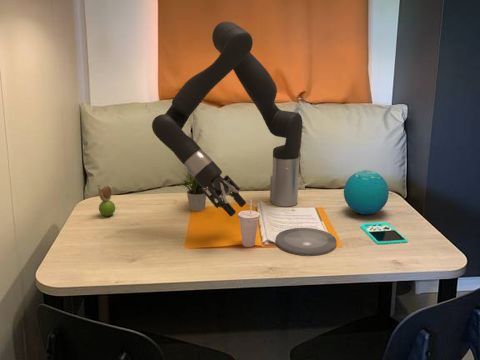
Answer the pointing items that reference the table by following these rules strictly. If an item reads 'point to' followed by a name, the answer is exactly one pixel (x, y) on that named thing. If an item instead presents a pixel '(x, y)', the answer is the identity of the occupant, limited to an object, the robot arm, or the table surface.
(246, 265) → the table surface
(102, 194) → the snail figurine
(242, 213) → the smoothie
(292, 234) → the dish
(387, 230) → the handheld game console
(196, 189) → the house plant
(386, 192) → the decorative orb
